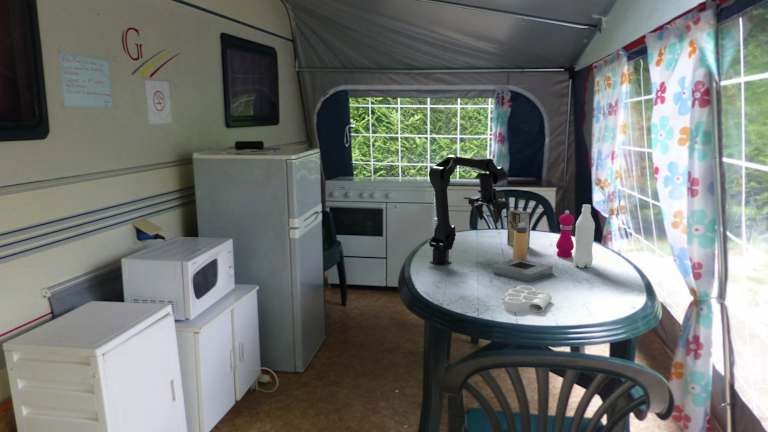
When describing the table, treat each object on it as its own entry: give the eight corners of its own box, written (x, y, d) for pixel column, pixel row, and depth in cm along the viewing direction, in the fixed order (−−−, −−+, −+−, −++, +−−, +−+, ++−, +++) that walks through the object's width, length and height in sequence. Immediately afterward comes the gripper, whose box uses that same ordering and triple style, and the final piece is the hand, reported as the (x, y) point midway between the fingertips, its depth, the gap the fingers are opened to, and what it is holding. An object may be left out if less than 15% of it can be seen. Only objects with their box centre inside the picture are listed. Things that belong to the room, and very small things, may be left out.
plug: (521, 262, 218) (523, 225, 215) (510, 259, 222) (511, 223, 219) (529, 259, 221) (531, 223, 218) (518, 257, 226) (519, 221, 223)
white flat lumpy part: (540, 317, 160) (493, 309, 167) (553, 299, 175) (510, 292, 183) (540, 307, 159) (493, 299, 167) (554, 290, 175) (510, 283, 182)
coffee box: (530, 247, 243) (531, 212, 240) (519, 248, 240) (520, 213, 237) (517, 242, 251) (518, 209, 248) (506, 244, 248) (507, 210, 245)
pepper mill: (570, 254, 230) (573, 208, 227) (575, 258, 223) (578, 212, 220) (553, 253, 231) (556, 208, 227) (557, 258, 224) (560, 211, 220)
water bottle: (593, 269, 208) (598, 206, 203) (574, 268, 209) (578, 206, 204) (590, 264, 215) (594, 203, 210) (571, 263, 216) (575, 203, 211)
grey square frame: (528, 282, 192) (529, 274, 192) (492, 272, 204) (493, 265, 203) (552, 273, 203) (552, 265, 202) (516, 264, 214) (517, 257, 214)
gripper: (516, 185, 223) (518, 220, 227) (484, 180, 238) (486, 213, 242) (497, 191, 217) (500, 227, 221) (466, 186, 232) (469, 220, 236)
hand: (489, 221), depth 230 cm, fingers open, 9 cm apart
